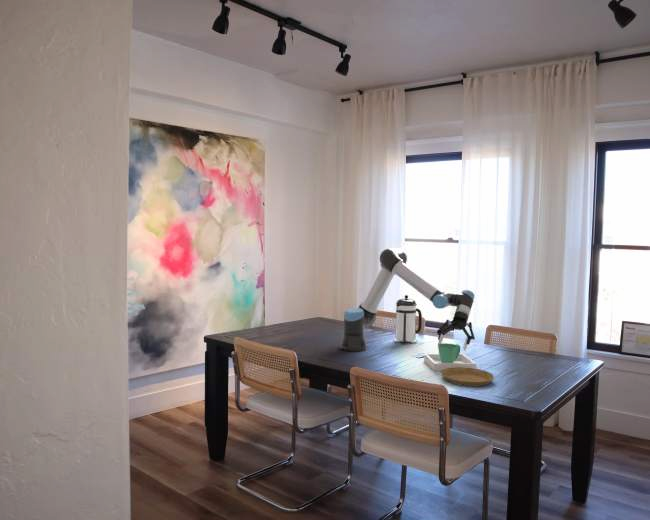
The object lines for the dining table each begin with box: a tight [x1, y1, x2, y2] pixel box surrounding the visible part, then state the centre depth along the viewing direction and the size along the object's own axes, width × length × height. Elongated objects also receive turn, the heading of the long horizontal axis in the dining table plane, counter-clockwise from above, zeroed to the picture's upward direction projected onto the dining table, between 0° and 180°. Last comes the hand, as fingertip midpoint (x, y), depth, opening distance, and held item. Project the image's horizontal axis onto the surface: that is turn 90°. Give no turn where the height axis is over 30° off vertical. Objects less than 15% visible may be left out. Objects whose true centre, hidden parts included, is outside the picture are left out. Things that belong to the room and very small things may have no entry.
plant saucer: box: [440, 367, 495, 387], centre depth 249 cm, size 24×24×3 cm
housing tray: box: [423, 353, 477, 372], centre depth 275 cm, size 21×21×4 cm
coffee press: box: [393, 294, 423, 345], centre depth 333 cm, size 17×16×30 cm
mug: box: [437, 342, 461, 363], centre depth 274 cm, size 15×10×10 cm
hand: (451, 347), depth 275 cm, fingers open, 13 cm apart
